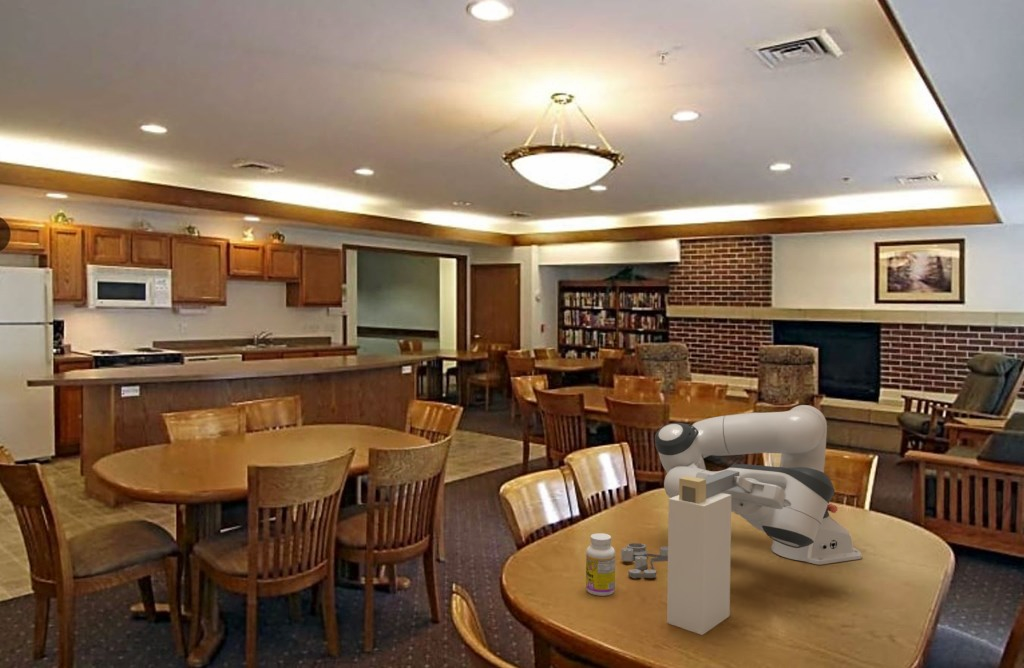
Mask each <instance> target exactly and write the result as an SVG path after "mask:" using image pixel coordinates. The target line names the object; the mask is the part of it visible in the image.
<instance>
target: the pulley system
mask: <svg viewBox="0 0 1024 668" xmlns="http://www.w3.org/2000/svg"><path fill="white" fill-rule="evenodd" d="M648 557H652V558H650V564H651V567H652V569H648V565H649V564H648ZM620 560H621V561H623V562H633V561H635V562H634V568H633V569H628V571H627V572H628V576H629V577H631V578H632V579H634V578H635V579H634V580H636V579H638V578H648V579H650V578H656V577H657V570H656V569H655V566H654V563H653V562H668V546H661V547H659V554H654V553H648V550H647V546H646V544H644V543H638V542H632V543H628V544H627V545H626V547H622V548H621V549H620ZM642 571H643V573H642Z"/></svg>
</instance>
